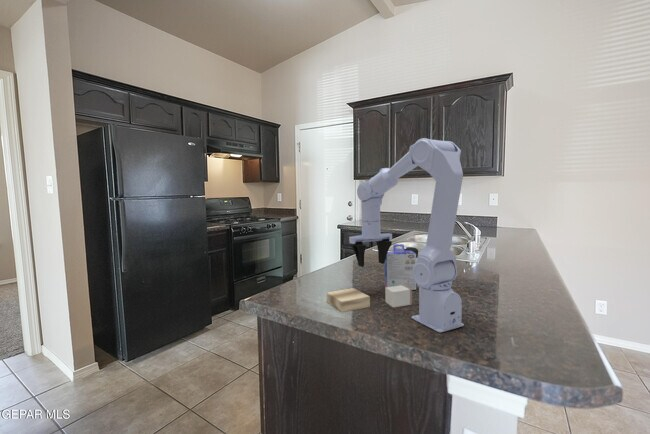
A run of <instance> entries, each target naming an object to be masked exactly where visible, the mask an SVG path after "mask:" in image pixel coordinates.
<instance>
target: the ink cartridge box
mask: <svg viewBox="0 0 650 434" xmlns="http://www.w3.org/2000/svg"><path fill="white" fill-rule="evenodd" d="M392 245H393V251H388V252H387V255H386V259H385V263H384V264H383V265H384V288H385V287H393V286H400V285H405V286H407V287H409V288H411V289H412V291H414V290H417V284H416V282H415V280H414V278H413V273H412V270H413V266H414V264H415V263H416V253H415V252H413V251H405V248H404V247H405V244H403V243H402V244H400V243H399V244H392ZM398 247H400V248H398Z"/></svg>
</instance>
